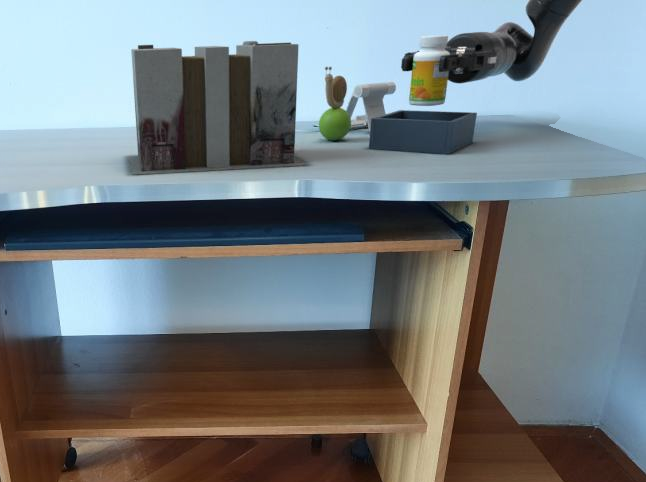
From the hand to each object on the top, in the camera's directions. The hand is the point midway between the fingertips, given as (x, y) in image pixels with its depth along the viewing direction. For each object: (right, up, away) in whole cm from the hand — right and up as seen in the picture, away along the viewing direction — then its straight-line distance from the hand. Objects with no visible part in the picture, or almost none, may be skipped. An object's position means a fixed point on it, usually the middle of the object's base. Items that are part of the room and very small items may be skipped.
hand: (423, 63), depth 97 cm
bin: (+2, -10, +7) cm, 13 cm away
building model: (-32, -15, +1) cm, 35 cm away
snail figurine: (-10, -7, +14) cm, 19 cm away
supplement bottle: (+2, -5, +4) cm, 7 cm away
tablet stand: (-2, -2, +24) cm, 25 cm away
